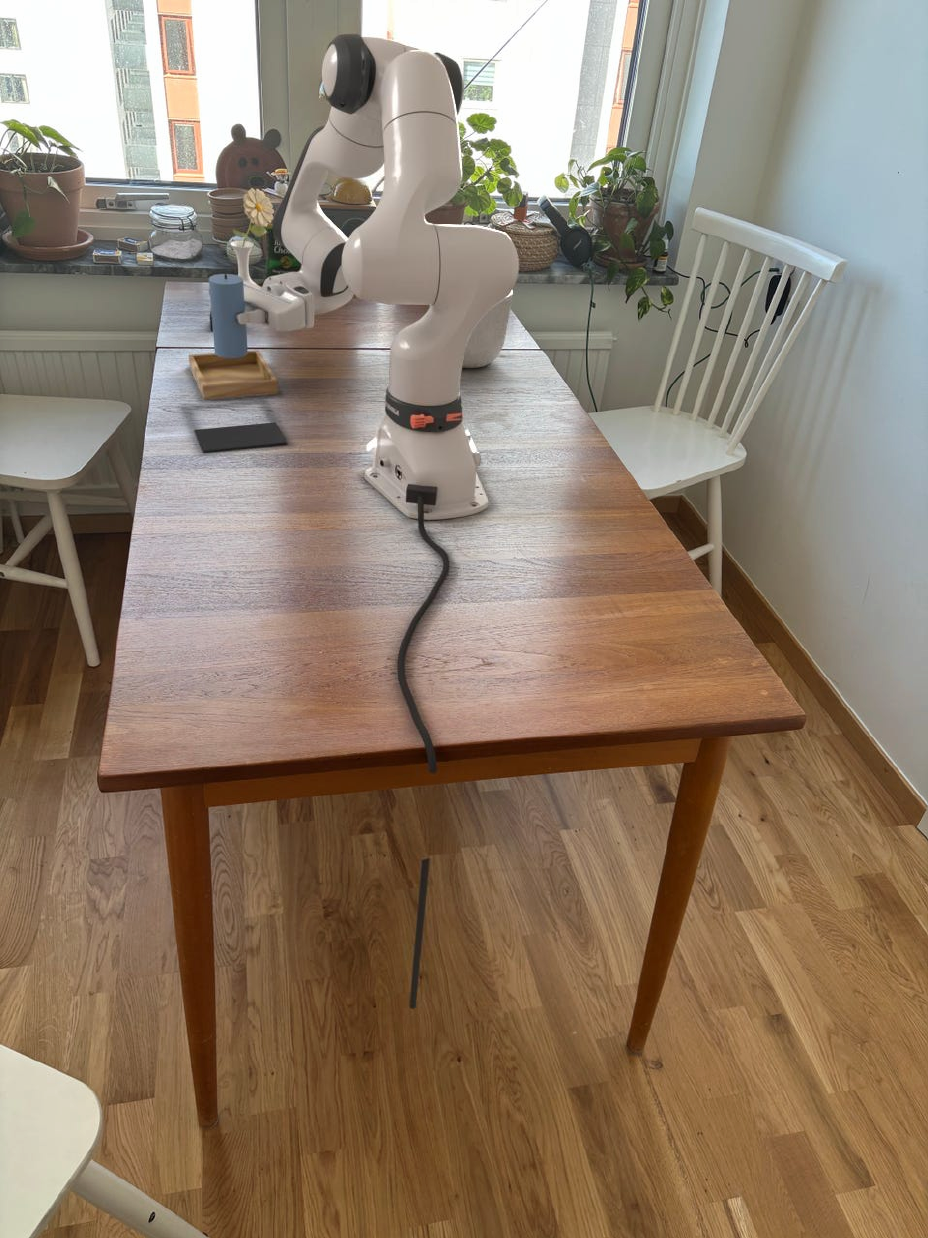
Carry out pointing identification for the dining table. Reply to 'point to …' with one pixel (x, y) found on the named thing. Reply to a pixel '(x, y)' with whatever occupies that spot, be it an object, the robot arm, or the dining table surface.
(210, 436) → the placemat
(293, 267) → the coffee jar
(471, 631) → the dining table surface
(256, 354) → the wooden tray
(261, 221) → the flower in vase
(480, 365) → the planter
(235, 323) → the candle
